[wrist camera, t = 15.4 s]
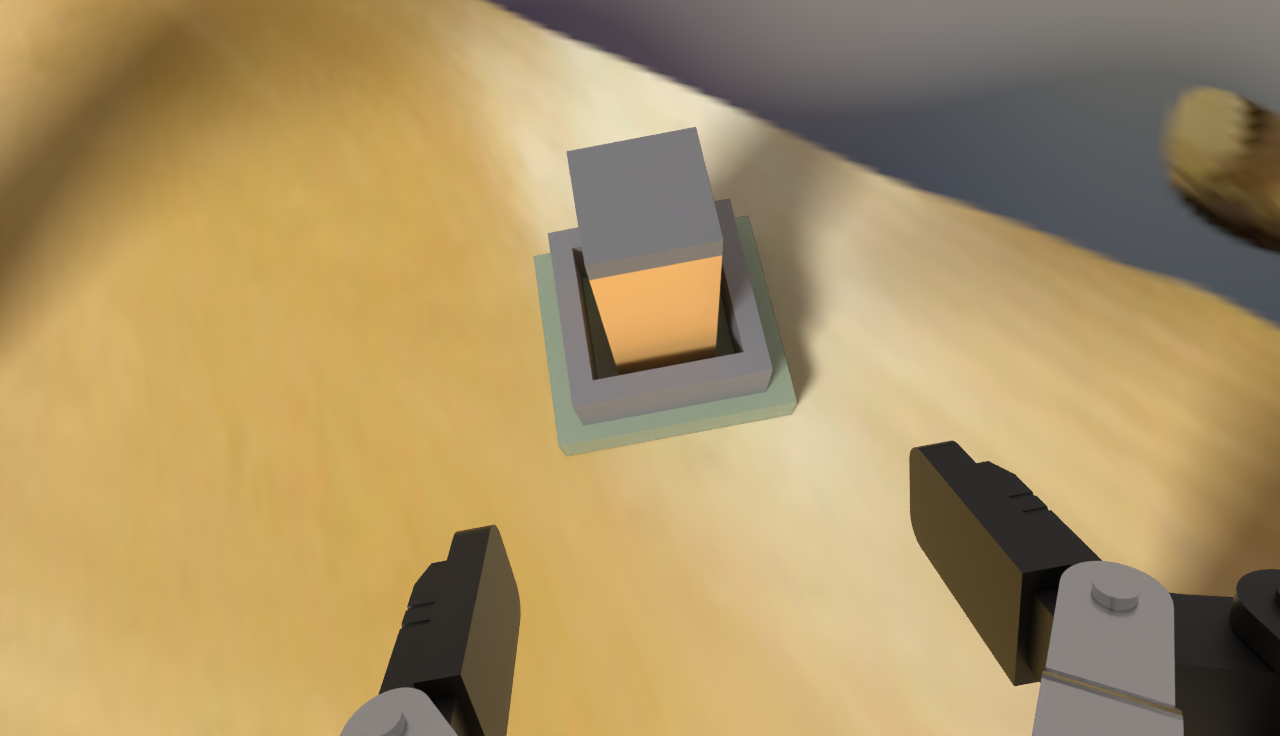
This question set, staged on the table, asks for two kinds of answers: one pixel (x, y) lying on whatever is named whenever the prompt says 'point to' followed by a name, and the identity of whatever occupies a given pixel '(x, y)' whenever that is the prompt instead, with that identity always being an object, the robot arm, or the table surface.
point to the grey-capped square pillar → (650, 247)
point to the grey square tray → (669, 396)
